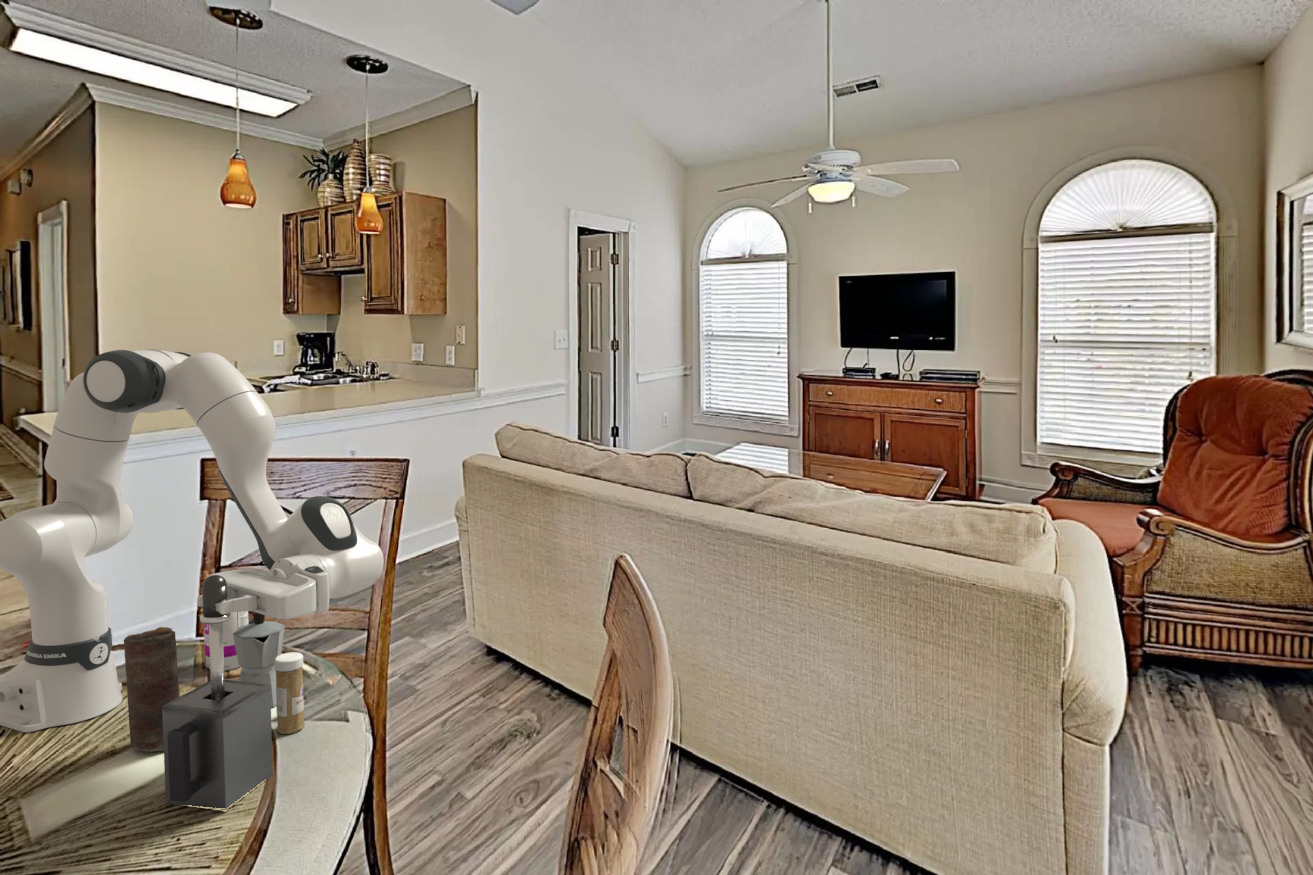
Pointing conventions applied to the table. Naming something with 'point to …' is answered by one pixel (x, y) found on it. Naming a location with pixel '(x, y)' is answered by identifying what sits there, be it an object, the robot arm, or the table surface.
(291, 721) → the sprinkles bottle
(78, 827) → the table surface
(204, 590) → the eye dropper
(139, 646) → the candle
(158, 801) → the table surface
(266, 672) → the coffee maker
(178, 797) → the press body
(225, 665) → the supplement can
